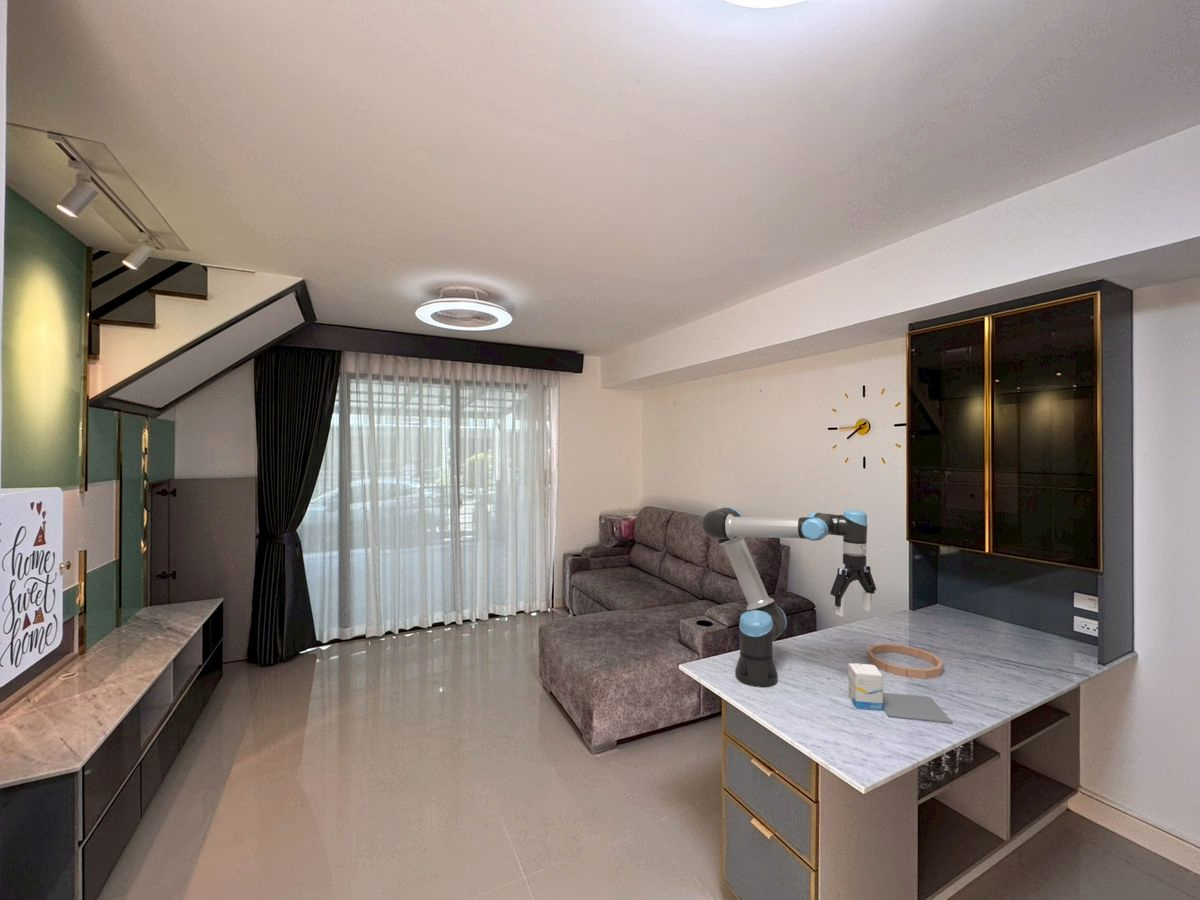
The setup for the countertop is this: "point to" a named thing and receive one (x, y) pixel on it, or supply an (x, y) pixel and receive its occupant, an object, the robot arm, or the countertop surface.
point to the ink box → (865, 686)
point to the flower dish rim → (902, 670)
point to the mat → (913, 708)
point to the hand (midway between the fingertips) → (853, 612)
